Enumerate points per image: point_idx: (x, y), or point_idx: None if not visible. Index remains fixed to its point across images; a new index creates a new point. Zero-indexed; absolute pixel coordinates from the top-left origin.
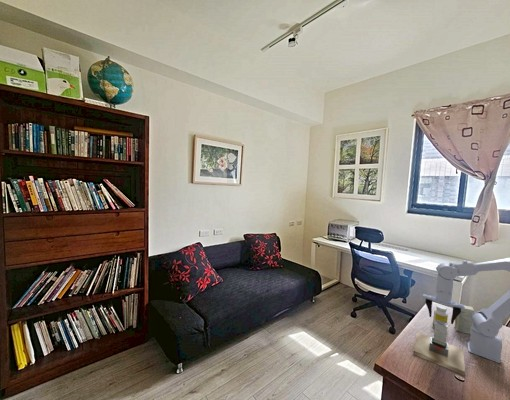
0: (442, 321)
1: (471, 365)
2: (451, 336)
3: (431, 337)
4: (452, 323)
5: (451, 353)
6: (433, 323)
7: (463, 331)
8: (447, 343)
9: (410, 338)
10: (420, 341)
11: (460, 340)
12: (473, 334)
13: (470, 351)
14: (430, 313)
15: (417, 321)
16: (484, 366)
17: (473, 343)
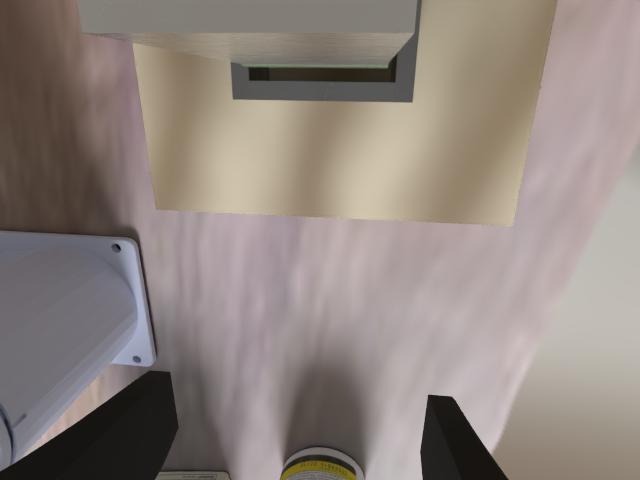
0: (211, 33)
1: (99, 38)
2: (249, 380)
3: (404, 79)
4: (147, 375)
5: None
6: (362, 474)
7: (186, 477)
8: (240, 73)
9: (572, 109)
10: (498, 47)
11: (196, 364)
12: (11, 354)
13: (122, 241)
14: (463, 443)
15: None
16: (34, 106)
17: (72, 295)
